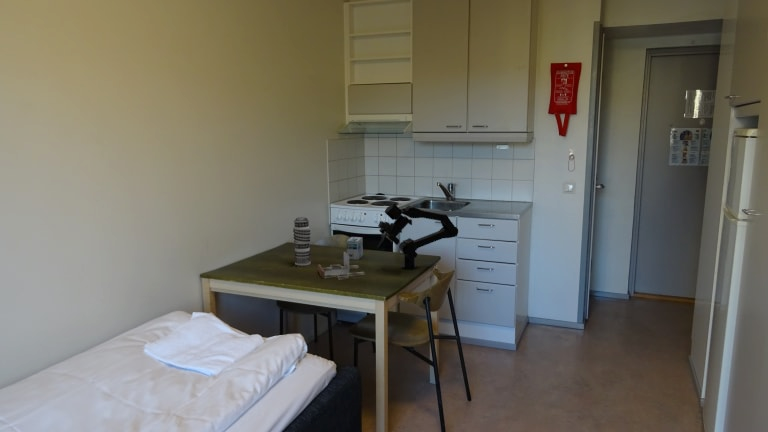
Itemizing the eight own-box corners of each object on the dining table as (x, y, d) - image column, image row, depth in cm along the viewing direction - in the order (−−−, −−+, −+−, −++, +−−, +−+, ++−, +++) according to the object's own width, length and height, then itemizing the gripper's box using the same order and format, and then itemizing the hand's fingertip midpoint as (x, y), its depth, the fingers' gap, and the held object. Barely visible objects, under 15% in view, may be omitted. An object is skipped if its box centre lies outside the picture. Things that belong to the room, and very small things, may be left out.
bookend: (345, 270, 268) (345, 251, 267) (349, 275, 259) (349, 255, 257) (322, 272, 265) (321, 253, 263) (325, 277, 256) (325, 257, 254)
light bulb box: (358, 260, 288) (358, 241, 287) (346, 259, 290) (346, 240, 288) (363, 255, 299) (362, 236, 297) (351, 254, 300) (351, 236, 298)
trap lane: (356, 265, 276) (356, 259, 276) (366, 277, 255) (366, 270, 254) (316, 268, 270) (316, 262, 270) (324, 281, 249) (324, 274, 248)
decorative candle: (290, 264, 279) (289, 218, 275) (301, 260, 288) (299, 215, 283) (304, 266, 275) (303, 219, 271) (314, 262, 283) (313, 217, 279)
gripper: (382, 212, 273) (362, 234, 272) (393, 218, 256) (371, 242, 255) (397, 226, 277) (377, 248, 276) (408, 233, 259) (387, 256, 258)
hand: (378, 248), depth 266 cm, fingers closed
